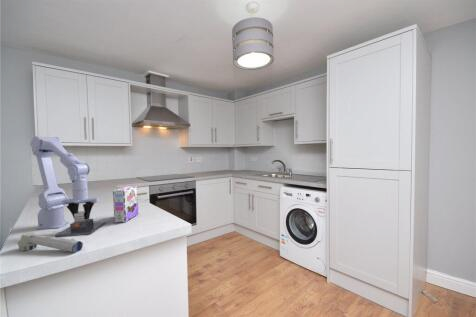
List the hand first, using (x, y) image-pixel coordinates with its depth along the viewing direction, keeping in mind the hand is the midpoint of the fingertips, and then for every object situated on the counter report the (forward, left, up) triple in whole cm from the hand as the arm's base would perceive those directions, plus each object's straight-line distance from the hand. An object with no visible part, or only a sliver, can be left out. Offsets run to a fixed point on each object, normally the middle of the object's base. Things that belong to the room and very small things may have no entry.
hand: (81, 218), depth 99 cm
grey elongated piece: (-1, -20, -6) cm, 21 cm away
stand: (0, 0, -5) cm, 5 cm away
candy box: (+15, +13, -5) cm, 21 cm away
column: (0, 0, -4) cm, 4 cm away
